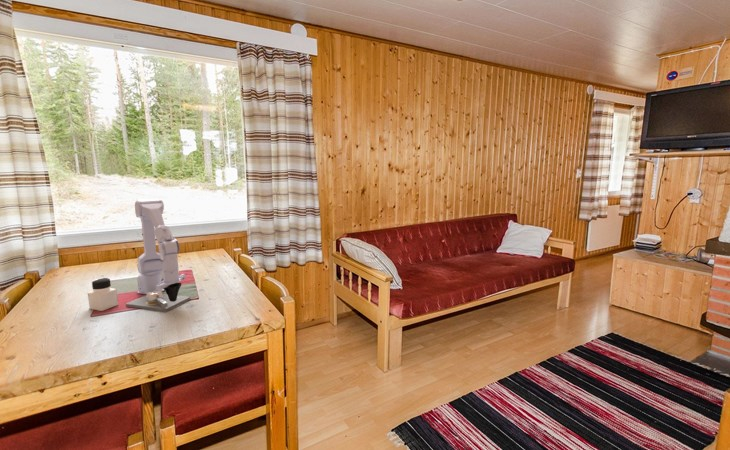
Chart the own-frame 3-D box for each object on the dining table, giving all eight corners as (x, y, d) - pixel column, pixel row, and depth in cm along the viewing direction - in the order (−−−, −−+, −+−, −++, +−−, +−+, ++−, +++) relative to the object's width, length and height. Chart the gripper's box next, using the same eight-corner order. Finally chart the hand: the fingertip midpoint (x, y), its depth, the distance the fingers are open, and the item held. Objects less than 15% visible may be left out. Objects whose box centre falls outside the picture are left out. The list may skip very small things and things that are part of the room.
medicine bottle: (118, 305, 150) (115, 277, 148) (101, 311, 144) (98, 283, 141) (106, 302, 152) (103, 275, 150) (89, 308, 146) (85, 280, 144)
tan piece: (145, 301, 150) (144, 292, 150) (159, 297, 155) (158, 289, 154) (158, 310, 141) (157, 301, 141) (173, 306, 146) (172, 297, 145)
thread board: (125, 306, 149) (125, 303, 149) (153, 294, 162) (153, 291, 162) (165, 312, 144) (165, 309, 144) (190, 299, 157) (190, 296, 157)
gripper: (166, 275, 138) (169, 308, 140) (191, 265, 152) (193, 295, 154) (150, 274, 139) (153, 307, 141) (176, 264, 153) (178, 294, 155)
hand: (173, 300), depth 148 cm, fingers closed
